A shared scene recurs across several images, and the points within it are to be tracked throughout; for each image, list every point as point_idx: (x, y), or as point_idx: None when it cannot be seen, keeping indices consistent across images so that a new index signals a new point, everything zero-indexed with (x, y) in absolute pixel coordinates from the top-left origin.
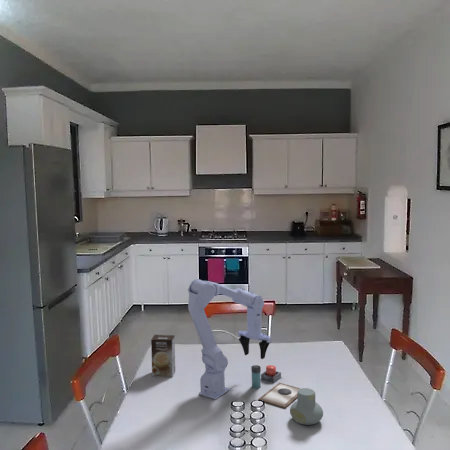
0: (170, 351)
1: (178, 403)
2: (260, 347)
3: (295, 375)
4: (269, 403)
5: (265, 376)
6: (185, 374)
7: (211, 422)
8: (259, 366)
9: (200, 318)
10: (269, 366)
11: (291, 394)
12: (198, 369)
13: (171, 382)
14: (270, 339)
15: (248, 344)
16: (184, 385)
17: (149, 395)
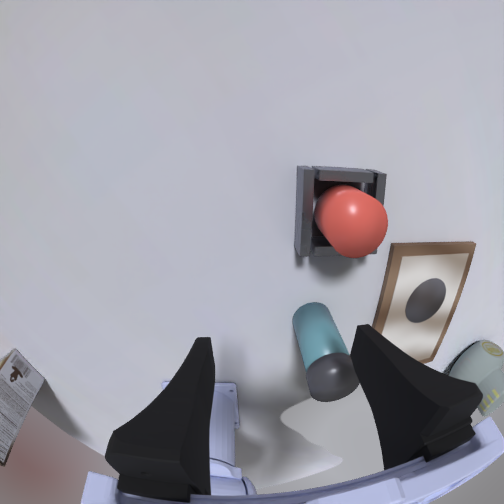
0: (15, 438)
1: None
2: (385, 441)
3: (419, 117)
4: None
5: (327, 253)
6: (43, 354)
7: (292, 457)
8: (351, 372)
9: None
10: (346, 221)
11: (445, 302)
12: (28, 308)
13: (71, 399)
14: (491, 442)
15: (197, 398)
16: (105, 403)
17: (107, 443)
